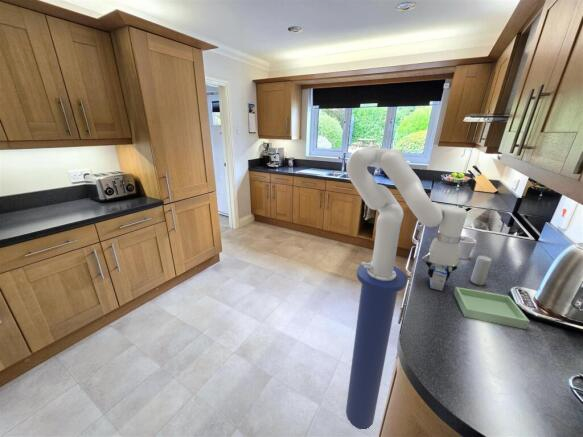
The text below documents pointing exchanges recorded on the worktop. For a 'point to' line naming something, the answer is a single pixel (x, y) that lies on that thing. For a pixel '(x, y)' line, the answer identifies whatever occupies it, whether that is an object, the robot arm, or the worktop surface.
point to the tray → (490, 307)
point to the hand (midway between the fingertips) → (437, 277)
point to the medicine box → (438, 277)
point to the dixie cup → (466, 247)
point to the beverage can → (481, 270)
